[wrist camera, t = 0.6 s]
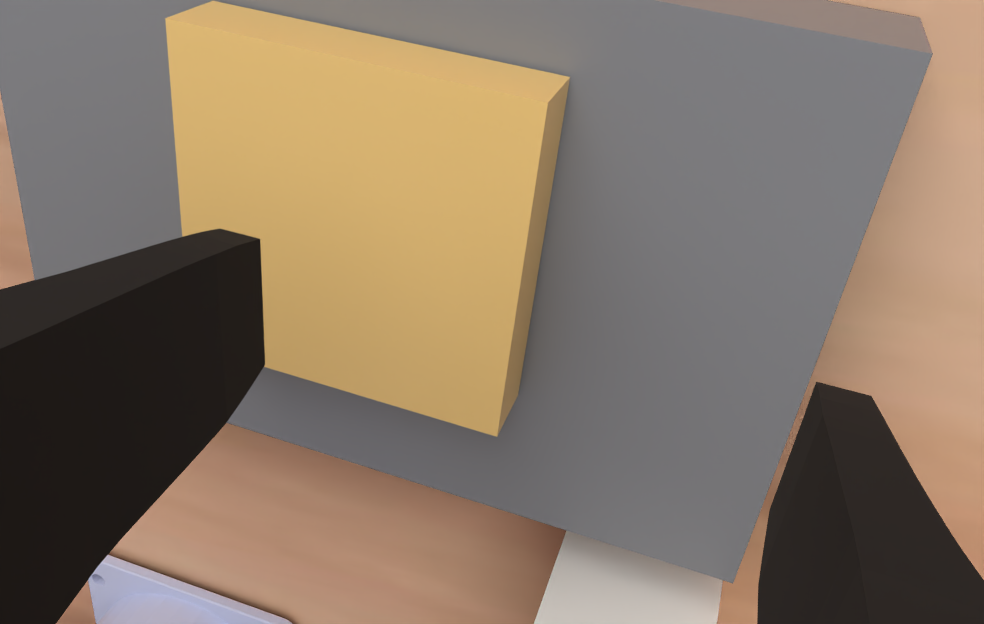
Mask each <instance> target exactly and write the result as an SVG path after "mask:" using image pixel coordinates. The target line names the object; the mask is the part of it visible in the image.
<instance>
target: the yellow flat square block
mask: <svg viewBox="0 0 984 624" xmlns="http://www.w3.org/2000/svg"><path fill="white" fill-rule="evenodd" d="M165 21H166V34H167V47H168V60H169V73H170V85H171V98H172V111H173V124H174V137H175V150H176V162H177V175H178V188H179V201H180V214H181V226H182V237H184V236H187V235H191V234H195V233H199V232H203V231H209V230H214V229H219V228H220V229H224V230H228V231H232V232H236V233H239V234H243V235H247V236H251V237H255V238H259V239H260V245H261V271H262V296H263V321H264V347H265V366H264V367H267V368H270V369H273V370H277V371H280V372H283V373H287V374H290V375H293V376H297V377H300V378H303V379H307V380H310V381H313V382H317V383H320V384H323V385H326V386H330V387H333V388H336V389H340V390H343V391H346V392H350V393H353V394H356V395H360V396H363V397H366V398H370V399H373V400H376V401H380V402H383V403H386V404H390V405H393V406H396V407H400V408H403V409H406V410H410V411H413V412H416V413H420V414H423V415H426V416H430V417H433V418H436V419H440V420H443V421H446V422H449V423H453V424H456V425H459V426H463V427H466V428H469V429H473V430H476V431H479V432H483V433H486V434H489V435H493V436H496V437H497V436H498V434H499V432H500V430H501V428H502V426H503V424H504V422H505V420H506V418H507V416H508V414H509V412H510V410H511V408H512V406H513V404H514V402H515V400H516V398H517V396H518V392H519V386H520V380H521V374H522V368H523V362H524V356H525V350H526V344H527V337H528V331H529V325H530V319H531V313H532V307H533V301H534V295H535V289H536V282H537V276H538V270H539V264H540V258H541V252H542V246H543V240H544V234H545V227H546V221H547V215H548V209H549V203H550V197H551V191H552V185H553V179H554V172H555V166H556V160H557V154H558V148H559V142H560V136H561V130H562V124H563V117H564V111H565V105H566V99H567V93H568V87H569V81H570V77H568V76H563V75H558V74H554V73H549V72H544V71H540V70H535V69H530V68H526V67H521V66H516V65H512V64H507V63H502V62H498V61H493V60H488V59H484V58H479V57H474V56H470V55H465V54H460V53H456V52H451V51H446V50H441V49H437V48H432V47H427V46H423V45H418V44H413V43H409V42H404V41H399V40H395V39H390V38H385V37H381V36H376V35H371V34H367V33H362V32H357V31H353V30H348V29H343V28H339V27H334V26H329V25H324V24H320V23H315V22H310V21H306V20H301V19H296V18H292V17H287V16H282V15H278V14H273V13H268V12H264V11H259V10H254V9H250V8H245V7H240V6H236V5H231V4H226V3H222V2H217V1H211V2H208V3H205V4H203V5H200V6H197V7H194V8H192V9H189V10H186V11H184V12H181V13H178V14H175V15H173V16H170V17H167V18H165Z"/></svg>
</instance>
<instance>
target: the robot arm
mask: <svg viewBox="0 0 984 624" xmlns="http://www.w3.org/2000/svg"><path fill="white" fill-rule="evenodd" d="M264 366H265V347H264V321H263V296H262V271H261V245H260V239H259V238H255V237H251V236H247V235H243V234H239V233H236V232H232V231H228V230H224V229H220V228H219V229H214V230H209V231H203V232H199V233H195V234H191V235H187V236H184V237H180V238H176V239H173V240H169V241H166V242H162V243H159V244H156V245H152V246H149V247H146V248H142V249H139V250H136V251H133V252H129V253H126V254H123V255H120V256H116V257H113V258H110V259H106V260H103V261H100V262H97V263H93V264H90V265H87V266H83V267H80V268H77V269H74V270H70V271H67V272H63V273H60V274H56V275H52V276H49V277H45V278H41V279H38V280H34V281H30V282H27V283H23V284H19V285H15V286H12V287H8V288H4V289H1V290H0V624H56V623H57V621H58V620H59V619H60V617H61V616H62V614H63V613H64V612H65V610H66V609H67V608H68V606H69V605H70V604H71V602H72V601H73V599H74V598H75V597H76V595H77V594H78V593H79V591H80V590H81V589H82V587H83V586H84V585H85V583H86V582H87V580H88V582H89V587H90V593H91V598H92V604H93V609H94V615H95V620H96V624H293V623H291V622H290V621H289V620H287V619H285V618H282V617H279V616H277V615H274V614H271V613H268V612H265V611H263V610H260V609H257V608H254V607H252V606H249V605H246V604H243V603H241V602H238V601H235V600H232V599H229V598H227V597H224V596H221V595H218V594H216V593H213V592H210V591H207V590H205V589H202V588H199V587H196V586H193V585H191V584H188V583H185V582H182V581H180V580H177V579H174V578H171V577H168V576H166V575H163V574H160V573H157V572H155V571H152V570H149V569H146V568H144V567H141V566H138V565H135V564H132V563H130V562H127V561H124V560H121V559H119V558H116V557H113V556H110V555H108V554H109V553H110V551H111V550H112V549H113V548H114V547H115V545H116V544H117V543H118V542H119V541H120V539H121V538H122V537H123V536H124V535H125V534H126V533H127V532H128V531H129V530H130V529H131V527H132V526H133V525H134V524H135V523H136V522H137V521H138V520H139V519H140V518H141V517H142V515H143V514H144V513H145V512H146V511H147V510H148V509H149V508H150V507H151V506H152V505H153V503H154V502H155V501H156V500H157V499H158V498H159V497H160V496H161V495H162V494H163V493H164V491H165V490H166V489H167V488H168V487H169V486H170V485H171V484H172V483H173V482H174V481H175V479H176V478H177V477H178V476H179V475H180V474H181V473H182V472H183V471H184V470H185V469H186V467H187V466H188V465H189V464H190V463H191V462H192V461H193V460H194V459H195V457H196V456H197V455H198V454H199V453H200V452H201V451H202V450H203V449H204V447H205V446H206V445H207V444H208V443H209V442H210V441H211V440H212V438H213V437H214V436H215V435H216V434H217V433H218V432H219V431H220V429H221V428H222V427H223V426H224V425H225V424H226V422H227V421H228V420H229V418H230V417H231V416H232V414H233V413H234V411H235V410H236V408H237V407H238V406H239V404H240V403H241V401H242V400H243V398H244V397H245V395H246V394H247V392H248V391H249V389H250V388H251V386H252V385H253V383H254V381H255V380H256V378H257V377H258V375H259V374H260V372H261V370H262V369H263V367H264ZM758 624H984V580H983V579H982V577H981V576H980V574H979V573H978V572H977V570H976V569H975V567H974V566H973V565H972V563H971V562H970V561H969V559H968V558H967V556H966V555H965V554H964V552H963V551H962V549H961V548H960V546H959V545H958V543H957V542H956V540H955V539H954V537H953V536H952V534H951V533H950V531H949V529H948V528H947V526H946V525H945V523H944V521H943V520H942V518H941V516H940V515H939V513H938V512H937V510H936V508H935V507H934V505H933V504H932V502H931V500H930V499H929V497H928V496H927V494H926V492H925V491H924V489H923V487H922V485H921V484H920V482H919V480H918V479H917V477H916V475H915V473H914V472H913V470H912V468H911V466H910V465H909V463H908V461H907V459H906V457H905V456H904V454H903V452H902V450H901V449H900V447H899V445H898V443H897V441H896V440H895V438H894V436H893V434H892V432H891V430H890V429H889V427H888V425H887V423H886V421H885V419H884V418H883V416H882V414H881V412H880V411H879V409H878V407H877V405H876V404H875V402H874V400H873V398H872V397H871V396H869V395H865V394H861V393H857V392H854V391H850V390H846V389H842V388H838V387H834V386H830V385H826V384H823V383H819V382H816V385H815V387H814V390H813V393H812V396H811V398H810V401H809V404H808V407H807V409H806V412H805V415H804V418H803V420H802V423H801V426H800V429H799V431H798V434H797V437H796V440H795V442H794V445H793V448H792V451H791V453H790V456H789V459H788V461H787V464H786V467H785V470H784V472H783V475H782V478H781V481H780V483H779V486H778V489H777V492H776V494H775V497H774V500H773V503H772V505H771V508H770V511H769V518H768V524H767V531H766V537H765V543H764V550H763V557H762V564H761V571H760V578H759V586H758Z"/></svg>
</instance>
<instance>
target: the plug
mask: <svg viewBox="0 0 984 624" xmlns="http://www.w3.org/2000/svg"><path fill="white" fill-rule="evenodd" d="M722 583H723V580H721V579H718V578H715V577H711V576H708V575H705V574H702V573H699V572H696V571H693V570H689V569H686V568H683V567H680V566H677V565H674V564H670V563H667V562H664V561H661V560H658V559H655V558H652V557H648V556H645V555H642V554H639V553H636V552H633V551H630V550H626V549H623V548H620V547H617V546H614V545H611V544H607V543H604V542H601V541H598V540H595V539H592V538H589V537H585V536H582V535H579V534H576V533H573V532H570V531H566V533H565V536H564V539H563V542H562V545H561V548H560V551H559V553H558V556H557V559H556V562H555V565H554V568H553V571H552V573H551V576H550V579H549V582H548V585H547V588H546V590H545V593H544V596H543V599H542V602H541V605H540V608H539V610H538V613H537V616H536V619H535V622H534V624H717V619H718V612H719V605H720V597H721V590H722Z"/></svg>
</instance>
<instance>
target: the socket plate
mask: <svg viewBox="0 0 984 624" xmlns="http://www.w3.org/2000/svg"><path fill="white" fill-rule="evenodd" d="M211 1H217V2H222V3H226V4H231V5H236V6H240V7H245V8H250V9H254V10H259V11H264V12H268V13H273V14H278V15H282V16H287V17H292V18H296V19H301V20H306V21H310V22H315V23H320V24H324V25H329V26H334V27H339V28H343V29H348V30H353V31H357V32H362V33H367V34H371V35H376V36H381V37H385V38H390V39H395V40H399V41H404V42H409V43H413V44H418V45H423V46H427V47H432V48H437V49H441V50H446V51H451V52H456V53H460V54H465V55H470V56H474V57H479V58H484V59H488V60H493V61H498V62H502V63H507V64H512V65H516V66H521V67H526V68H530V69H535V70H540V71H544V72H549V73H554V74H558V75H563V76H568V77H570V81H569V87H568V93H567V99H566V105H565V111H564V117H563V124H562V130H561V136H560V142H559V148H558V154H557V160H556V166H555V172H554V179H553V185H552V191H551V197H550V203H549V209H548V215H547V221H546V227H545V234H544V240H543V246H542V252H541V258H540V264H539V270H538V276H537V282H536V289H535V295H534V301H533V307H532V313H531V319H530V325H529V331H528V337H527V344H526V350H525V356H524V362H523V368H522V374H521V380H520V386H519V392H518V396H517V398H516V400H515V402H514V404H513V406H512V408H511V410H510V412H509V414H508V416H507V418H506V420H505V422H504V424H503V426H502V428H501V430H500V432H499V434H498V436H497V437H496V436H493V435H489V434H486V433H483V432H479V431H476V430H473V429H469V428H466V427H463V426H459V425H456V424H453V423H449V422H446V421H443V420H440V419H436V418H433V417H430V416H426V415H423V414H420V413H416V412H413V411H410V410H406V409H403V408H400V407H396V406H393V405H390V404H386V403H383V402H380V401H376V400H373V399H370V398H366V397H363V396H360V395H356V394H353V393H350V392H346V391H343V390H340V389H336V388H333V387H330V386H326V385H323V384H320V383H317V382H313V381H310V380H307V379H303V378H300V377H297V376H293V375H290V374H287V373H283V372H280V371H277V370H273V369H270V368H267V367H263V369H262V370H261V372H260V374H259V375H258V377H257V378H256V380H255V381H254V383H253V385H252V386H251V388H250V389H249V391H248V392H247V394H246V395H245V397H244V398H243V400H242V401H241V403H240V404H239V406H238V407H237V408H236V410H235V411H234V413H233V414H232V416H231V417H230V418H229V420H228V421H227V422H226V423H229V424H233V425H236V426H239V427H242V428H245V429H248V430H251V431H255V432H258V433H261V434H264V435H267V436H270V437H274V438H277V439H280V440H283V441H286V442H289V443H292V444H296V445H299V446H302V447H305V448H308V449H311V450H314V451H318V452H321V453H324V454H327V455H330V456H333V457H337V458H340V459H343V460H346V461H349V462H352V463H355V464H359V465H362V466H365V467H368V468H371V469H374V470H377V471H381V472H384V473H387V474H390V475H393V476H396V477H400V478H403V479H406V480H409V481H412V482H415V483H418V484H422V485H425V486H428V487H431V488H434V489H437V490H440V491H444V492H447V493H450V494H453V495H456V496H459V497H463V498H466V499H469V500H472V501H475V502H478V503H481V504H485V505H488V506H491V507H494V508H497V509H500V510H503V511H507V512H510V513H513V514H516V515H519V516H522V517H526V518H529V519H532V520H535V521H538V522H541V523H544V524H548V525H551V526H554V527H557V528H560V529H563V530H566V531H570V532H573V533H576V534H579V535H582V536H585V537H589V538H592V539H595V540H598V541H601V542H604V543H607V544H611V545H614V546H617V547H620V548H623V549H626V550H630V551H633V552H636V553H639V554H642V555H645V556H648V557H652V558H655V559H658V560H661V561H664V562H667V563H670V564H674V565H677V566H680V567H683V568H686V569H689V570H693V571H696V572H699V573H702V574H705V575H708V576H711V577H715V578H718V579H721V580H724V581H727V582H730V583H733V582H734V579H735V577H736V574H737V571H738V569H739V566H740V563H741V561H742V558H743V555H744V553H745V550H746V547H747V545H748V542H749V539H750V537H751V534H752V532H753V529H754V526H755V524H756V521H757V518H758V516H759V513H760V510H761V508H762V505H763V502H764V500H765V497H766V494H767V492H768V489H769V486H770V484H771V481H772V478H773V476H774V473H775V471H776V468H777V465H778V463H779V460H780V457H781V455H782V452H783V449H784V447H785V444H786V441H787V439H788V436H789V433H790V431H791V428H792V425H793V423H794V420H795V418H796V415H797V412H798V410H799V407H800V404H801V402H802V399H803V396H804V394H805V391H806V388H807V386H808V383H809V380H810V378H811V375H812V372H813V370H814V367H815V364H816V362H817V359H818V357H819V354H820V351H821V349H822V346H823V343H824V341H825V338H826V335H827V333H828V330H829V327H830V325H831V322H832V319H833V317H834V314H835V311H836V309H837V306H838V303H839V301H840V298H841V296H842V293H843V290H844V288H845V285H846V282H847V280H848V277H849V274H850V272H851V269H852V266H853V264H854V261H855V258H856V256H857V253H858V250H859V248H860V245H861V243H862V240H863V237H864V235H865V232H866V229H867V227H868V224H869V221H870V219H871V216H872V213H873V211H874V208H875V205H876V203H877V200H878V197H879V195H880V192H881V189H882V187H883V184H884V182H885V179H886V176H887V174H888V171H889V168H890V166H891V163H892V160H893V158H894V155H895V152H896V150H897V147H898V144H899V142H900V139H901V136H902V134H903V131H904V129H905V126H906V123H907V121H908V118H909V115H910V113H911V110H912V107H913V105H914V102H915V99H916V97H917V94H918V91H919V89H920V86H921V83H922V81H923V78H924V75H925V73H926V70H927V68H928V65H929V62H930V60H931V57H932V54H933V53H932V50H931V47H930V44H929V42H928V39H927V36H926V33H925V30H924V27H923V25H922V22H921V19H920V18H919V17H914V16H909V15H903V14H898V13H892V12H887V11H882V10H876V9H871V8H866V7H860V6H855V5H849V4H844V3H839V2H833V1H828V0H0V91H1V97H2V102H3V108H4V113H5V119H6V124H7V130H8V135H9V141H10V146H11V152H12V157H13V163H14V168H15V174H16V179H17V185H18V190H19V196H20V201H21V207H22V212H23V218H24V223H25V229H26V234H27V240H28V245H29V251H30V256H31V262H32V267H33V273H34V278H35V280H38V279H41V278H45V277H49V276H52V275H56V274H60V273H63V272H67V271H70V270H74V269H77V268H80V267H83V266H87V265H90V264H93V263H97V262H100V261H103V260H106V259H110V258H113V257H116V256H120V255H123V254H126V253H129V252H133V251H136V250H139V249H142V248H146V247H149V246H152V245H156V244H159V243H162V242H166V241H169V240H173V239H176V238H180V237H182V226H181V214H180V201H179V188H178V175H177V162H176V150H175V137H174V124H173V111H172V98H171V85H170V73H169V60H168V47H167V34H166V21H165V18H167V17H170V16H173V15H175V14H178V13H181V12H184V11H186V10H189V9H192V8H194V7H197V6H200V5H203V4H205V3H208V2H211Z"/></svg>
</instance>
